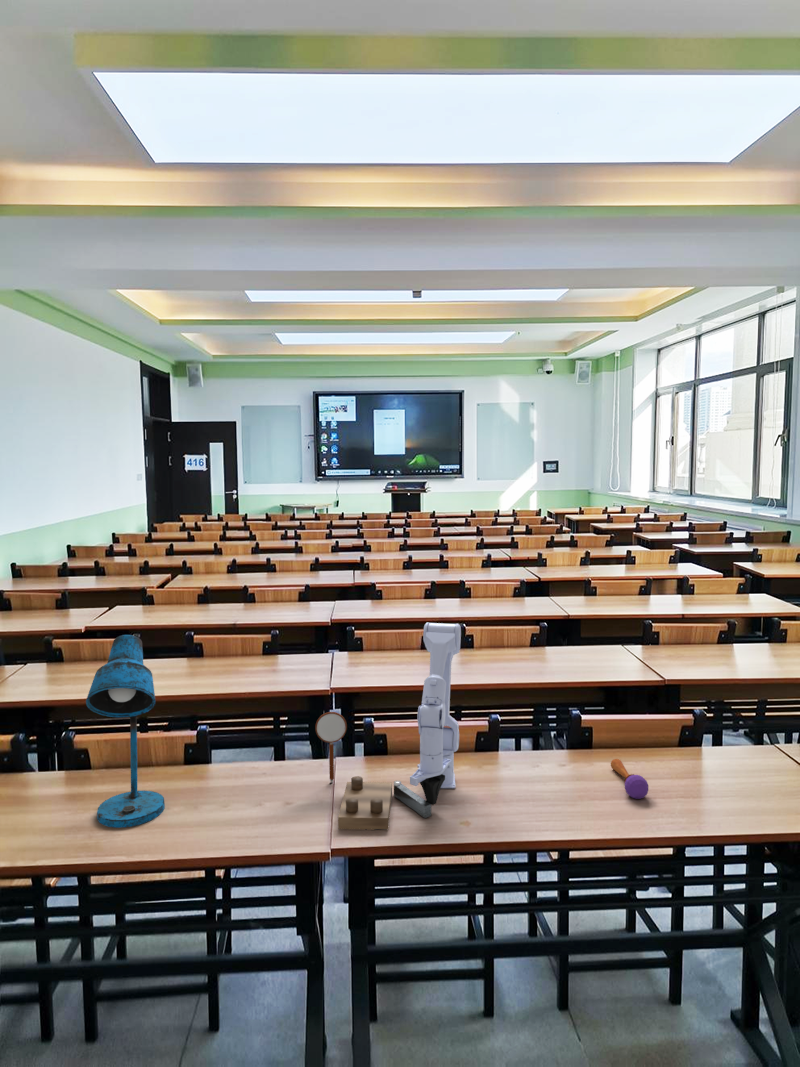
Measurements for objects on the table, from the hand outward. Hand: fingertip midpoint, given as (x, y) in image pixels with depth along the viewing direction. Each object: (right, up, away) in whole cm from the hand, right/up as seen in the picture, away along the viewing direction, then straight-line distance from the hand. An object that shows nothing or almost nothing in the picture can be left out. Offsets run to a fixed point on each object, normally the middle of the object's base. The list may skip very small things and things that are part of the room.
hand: (431, 803), depth 176 cm
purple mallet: (+54, -1, +14) cm, 56 cm away
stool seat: (-16, -2, 0) cm, 16 cm away
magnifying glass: (-27, -1, +16) cm, 31 cm away
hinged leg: (-5, -1, +3) cm, 6 cm away
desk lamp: (-76, -3, -2) cm, 76 cm away
